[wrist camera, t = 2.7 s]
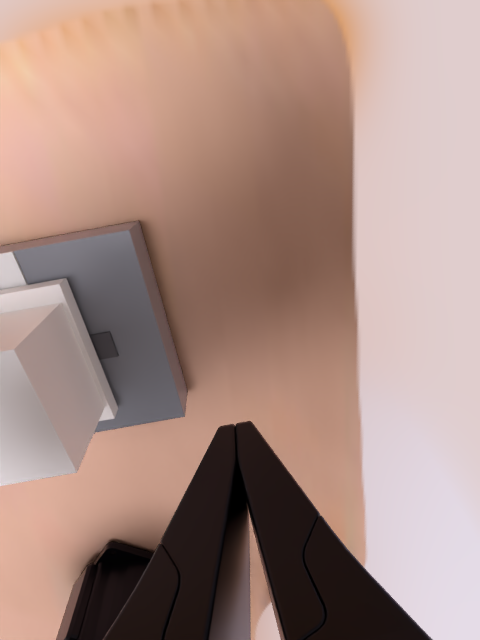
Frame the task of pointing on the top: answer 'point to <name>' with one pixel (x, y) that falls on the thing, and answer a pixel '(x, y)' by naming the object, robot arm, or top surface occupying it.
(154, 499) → the top surface
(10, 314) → the fader knob
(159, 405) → the fader track
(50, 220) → the top surface
